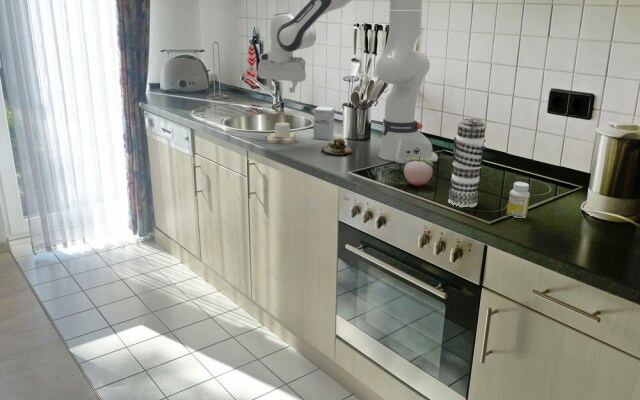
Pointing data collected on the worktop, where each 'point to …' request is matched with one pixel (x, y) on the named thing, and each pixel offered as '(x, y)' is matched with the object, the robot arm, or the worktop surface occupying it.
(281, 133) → the cap
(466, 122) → the decorative candle
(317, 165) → the worktop surface
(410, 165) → the decorative fruit
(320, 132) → the supplement box
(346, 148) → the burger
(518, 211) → the supplement bottle
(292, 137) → the stud board
